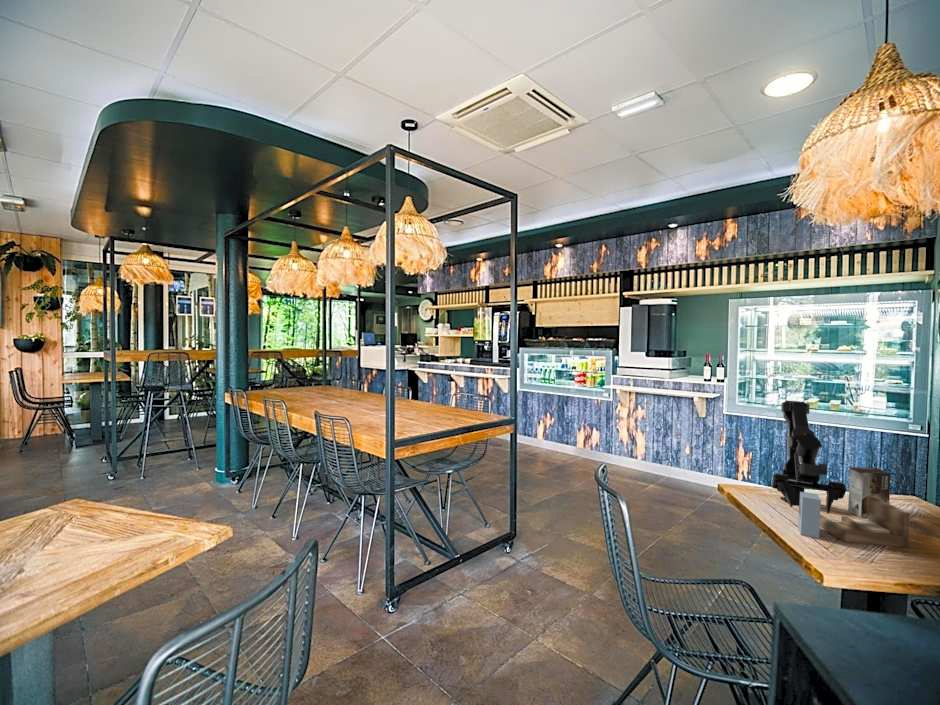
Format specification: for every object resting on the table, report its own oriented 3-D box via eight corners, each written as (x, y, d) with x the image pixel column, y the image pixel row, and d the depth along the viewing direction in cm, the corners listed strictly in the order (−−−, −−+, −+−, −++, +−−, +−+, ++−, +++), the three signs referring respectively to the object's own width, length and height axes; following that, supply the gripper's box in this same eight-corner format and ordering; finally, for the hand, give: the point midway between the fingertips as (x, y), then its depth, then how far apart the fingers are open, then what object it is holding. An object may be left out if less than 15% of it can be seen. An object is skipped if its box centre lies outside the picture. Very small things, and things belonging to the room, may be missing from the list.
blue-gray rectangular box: (797, 528, 144) (799, 491, 144) (815, 531, 142) (817, 494, 142) (800, 535, 139) (802, 497, 139) (818, 538, 137) (820, 500, 136)
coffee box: (874, 512, 160) (876, 467, 159) (889, 519, 153) (892, 473, 153) (846, 510, 160) (849, 466, 160) (860, 517, 154) (863, 471, 153)
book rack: (816, 523, 148) (817, 493, 148) (872, 527, 146) (874, 497, 146) (845, 542, 135) (847, 509, 134) (907, 546, 133) (909, 513, 132)
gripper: (774, 449, 149) (776, 491, 139) (846, 457, 140) (853, 503, 130) (771, 466, 156) (772, 508, 146) (839, 476, 147) (845, 520, 137)
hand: (809, 509), depth 140 cm, fingers open, 9 cm apart
